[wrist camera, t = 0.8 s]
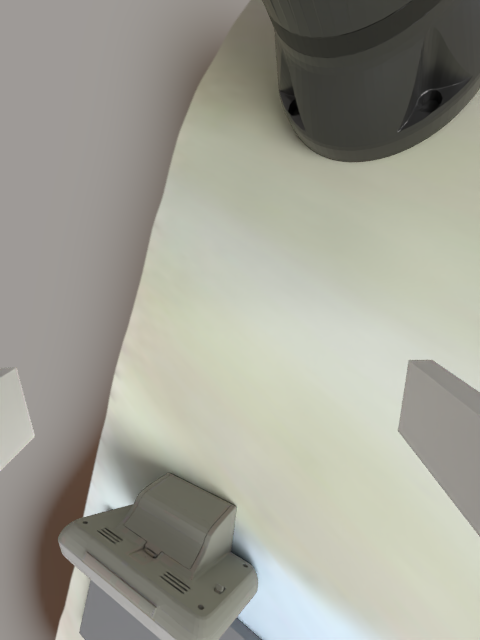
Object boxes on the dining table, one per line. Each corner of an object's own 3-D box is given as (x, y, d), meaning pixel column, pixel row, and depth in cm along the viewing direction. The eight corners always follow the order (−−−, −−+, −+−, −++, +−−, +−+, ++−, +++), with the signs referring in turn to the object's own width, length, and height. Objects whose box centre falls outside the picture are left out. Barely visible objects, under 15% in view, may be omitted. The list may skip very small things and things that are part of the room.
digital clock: (136, 509, 36) (43, 576, 27) (155, 443, 35) (64, 490, 25) (249, 613, 29) (177, 755, 19) (279, 536, 27) (217, 649, 18)
